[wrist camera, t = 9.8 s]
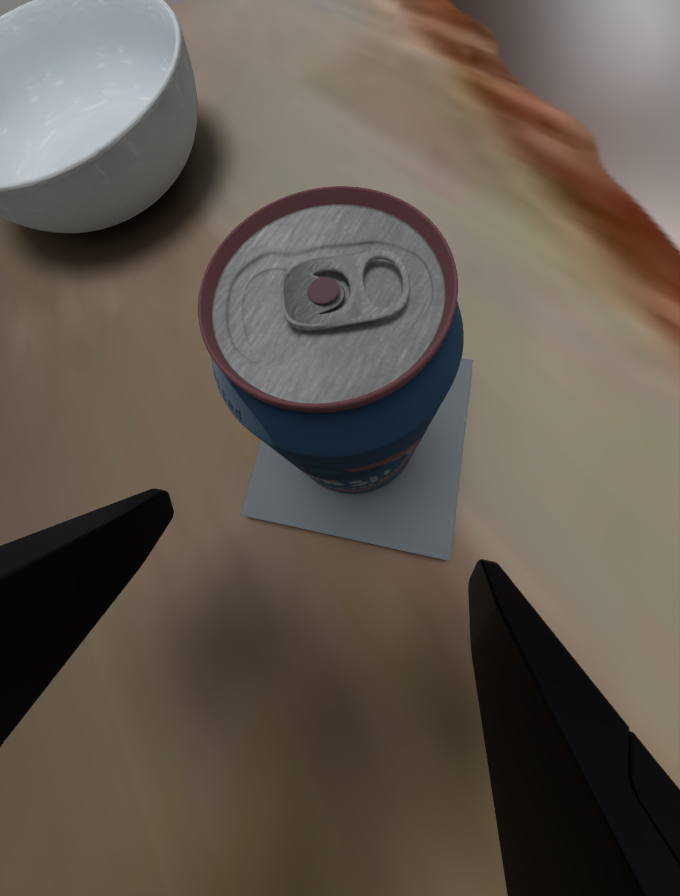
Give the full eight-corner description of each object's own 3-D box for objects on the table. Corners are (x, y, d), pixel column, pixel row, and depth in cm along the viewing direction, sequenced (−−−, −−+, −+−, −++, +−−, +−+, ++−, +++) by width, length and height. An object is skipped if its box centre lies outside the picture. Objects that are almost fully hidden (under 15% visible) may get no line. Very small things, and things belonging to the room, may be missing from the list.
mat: (445, 558, 17) (449, 561, 16) (247, 515, 19) (240, 514, 18) (467, 368, 19) (472, 359, 18) (292, 346, 21) (288, 337, 20)
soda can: (301, 502, 17) (162, 458, 6) (294, 393, 19) (176, 195, 8) (422, 489, 17) (530, 411, 5) (402, 378, 19) (453, 139, 7)
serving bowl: (-11, 182, 30) (-121, 84, 23) (164, 73, 31) (107, -48, 25) (63, 316, 24) (-53, 238, 18) (270, 177, 26) (235, 57, 19)
